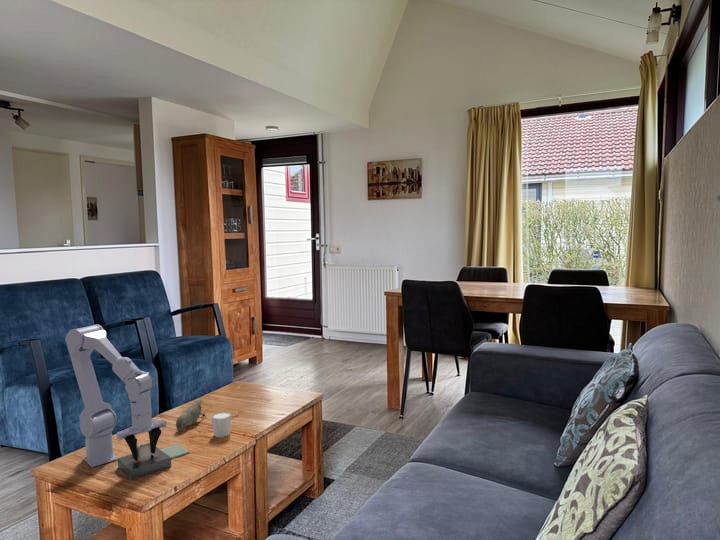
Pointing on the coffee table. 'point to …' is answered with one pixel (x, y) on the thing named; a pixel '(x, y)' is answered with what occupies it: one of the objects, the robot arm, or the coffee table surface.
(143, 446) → the plug
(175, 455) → the mat
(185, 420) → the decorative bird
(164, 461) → the housing
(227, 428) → the white tapered cylinder
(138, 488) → the coffee table surface
